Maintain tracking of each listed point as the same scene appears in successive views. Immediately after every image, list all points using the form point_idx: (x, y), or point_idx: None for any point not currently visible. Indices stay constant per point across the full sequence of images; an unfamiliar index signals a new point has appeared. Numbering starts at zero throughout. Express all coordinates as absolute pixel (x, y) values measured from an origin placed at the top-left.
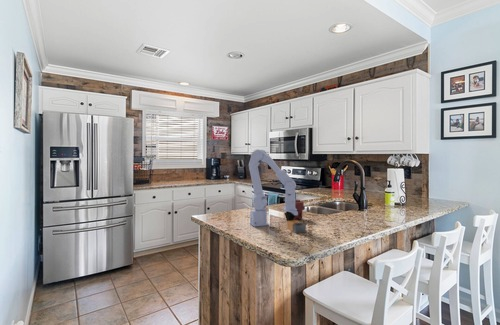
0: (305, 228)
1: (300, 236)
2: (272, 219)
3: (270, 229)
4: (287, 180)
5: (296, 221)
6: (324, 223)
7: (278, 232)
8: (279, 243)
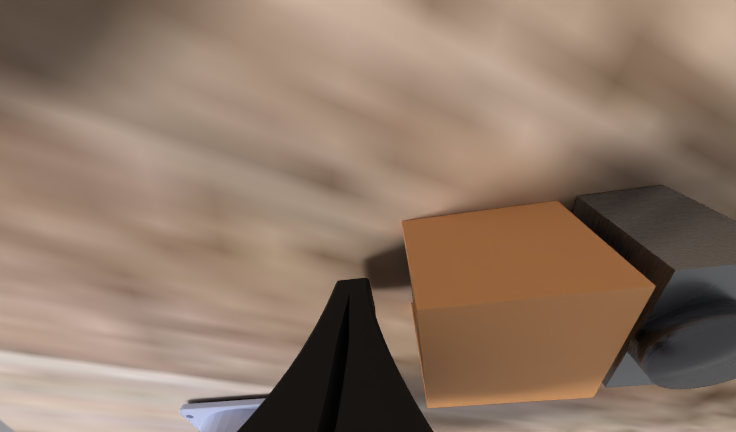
0: (720, 219)
1: None
2: (28, 341)
3: None
4: None
5: (522, 338)
6: None
7: None
8: (719, 417)
